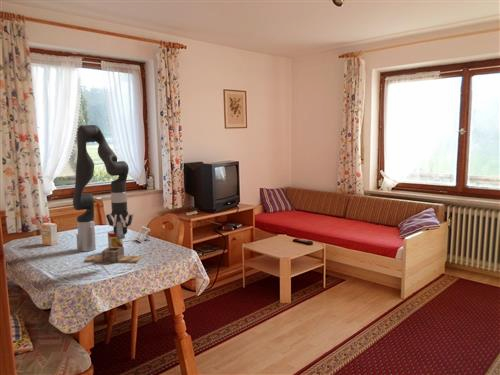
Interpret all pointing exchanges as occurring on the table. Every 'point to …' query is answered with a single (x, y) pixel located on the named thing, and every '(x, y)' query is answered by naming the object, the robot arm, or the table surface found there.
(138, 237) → the portable electronic device stand
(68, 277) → the table surface
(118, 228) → the hinge pin
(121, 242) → the canned food
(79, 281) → the table surface
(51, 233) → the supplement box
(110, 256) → the hinge
